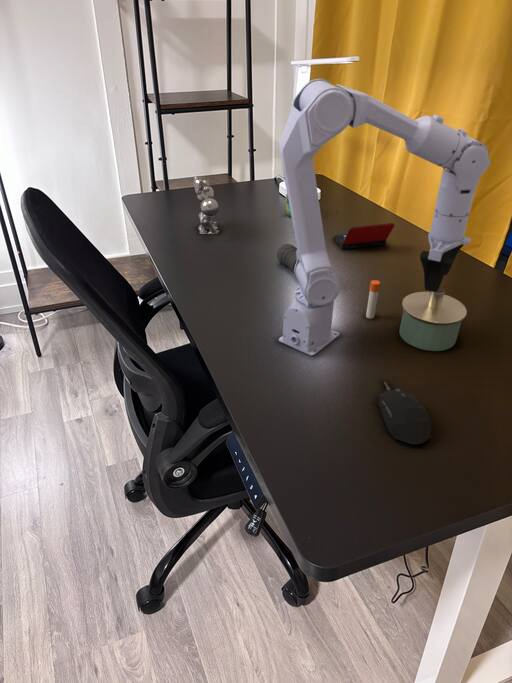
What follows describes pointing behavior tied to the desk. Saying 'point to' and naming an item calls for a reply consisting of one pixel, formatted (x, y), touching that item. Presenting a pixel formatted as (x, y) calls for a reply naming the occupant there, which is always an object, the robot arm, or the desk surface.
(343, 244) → the handheld console
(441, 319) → the canister lid
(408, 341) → the canister
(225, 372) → the desk surface
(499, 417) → the desk surface
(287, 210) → the green jar
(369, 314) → the marker
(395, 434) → the gaming mouse
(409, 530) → the desk surface
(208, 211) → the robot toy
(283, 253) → the flashlight
